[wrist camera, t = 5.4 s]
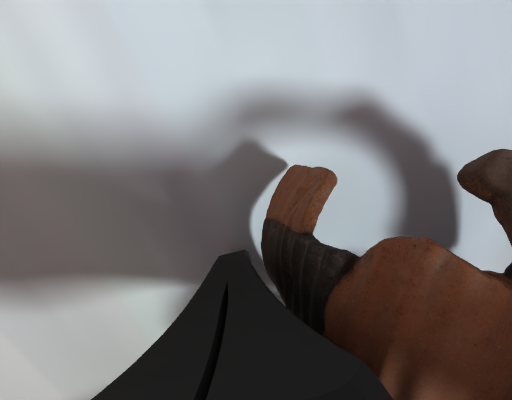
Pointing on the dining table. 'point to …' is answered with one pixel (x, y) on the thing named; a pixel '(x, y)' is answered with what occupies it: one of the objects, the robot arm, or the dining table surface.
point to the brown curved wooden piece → (399, 292)
